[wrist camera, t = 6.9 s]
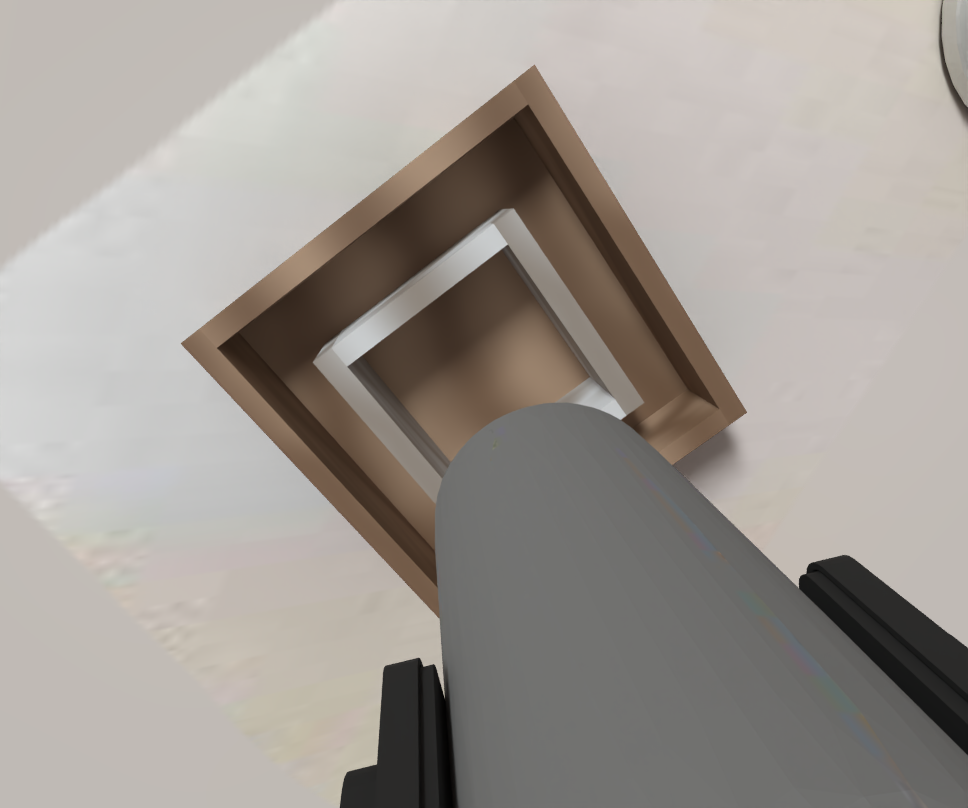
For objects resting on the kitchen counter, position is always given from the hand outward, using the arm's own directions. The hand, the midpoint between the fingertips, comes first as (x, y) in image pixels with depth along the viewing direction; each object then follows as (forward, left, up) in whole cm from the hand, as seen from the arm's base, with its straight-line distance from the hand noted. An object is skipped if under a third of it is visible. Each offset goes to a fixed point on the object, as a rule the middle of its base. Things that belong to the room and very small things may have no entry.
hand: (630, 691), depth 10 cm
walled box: (0, 0, -23) cm, 23 cm away
